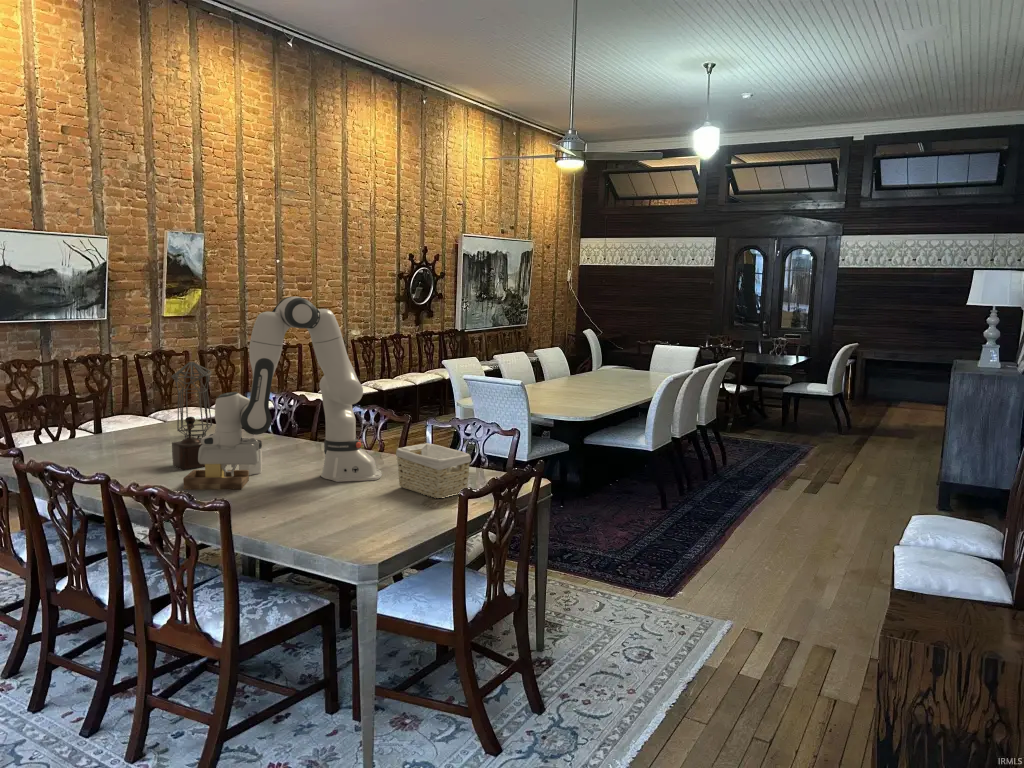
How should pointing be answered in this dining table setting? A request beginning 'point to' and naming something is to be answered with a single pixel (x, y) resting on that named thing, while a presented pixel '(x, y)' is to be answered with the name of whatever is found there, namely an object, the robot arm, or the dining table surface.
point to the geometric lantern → (193, 392)
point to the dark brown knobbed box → (187, 450)
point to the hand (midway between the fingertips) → (229, 476)
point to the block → (213, 470)
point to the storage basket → (433, 469)
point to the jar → (257, 467)
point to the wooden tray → (215, 481)
